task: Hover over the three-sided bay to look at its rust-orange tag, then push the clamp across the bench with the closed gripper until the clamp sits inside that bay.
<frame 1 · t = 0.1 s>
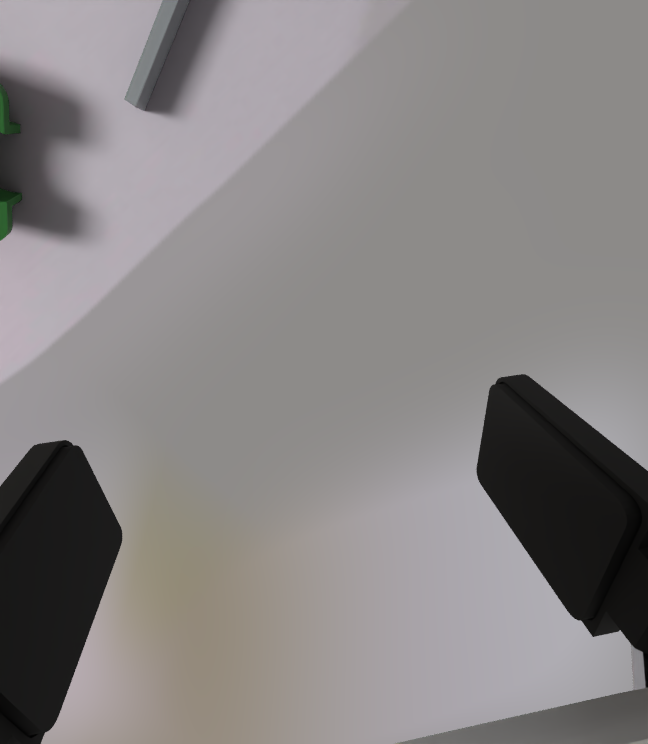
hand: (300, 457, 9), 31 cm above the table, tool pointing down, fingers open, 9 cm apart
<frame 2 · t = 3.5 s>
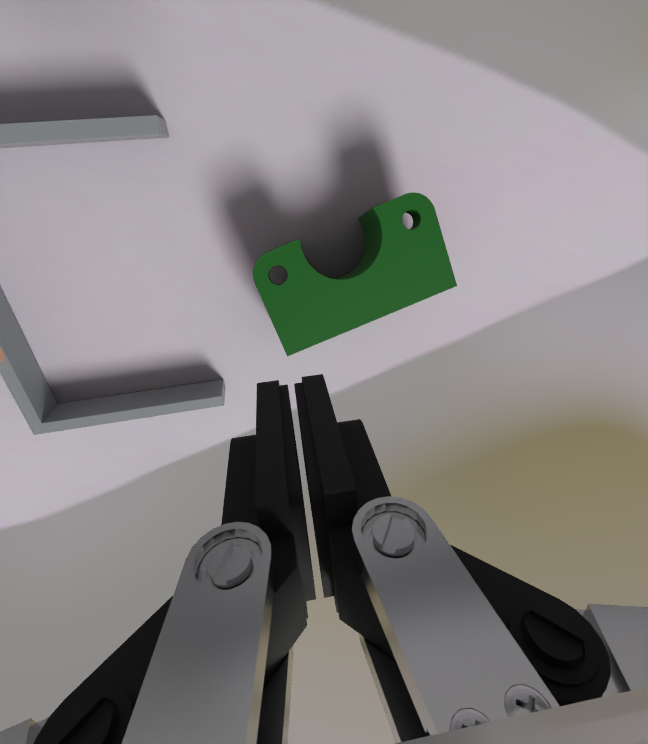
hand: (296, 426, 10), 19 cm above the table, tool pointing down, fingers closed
bay: (122, 285, 25), on the table
clamp: (338, 264, 27), on the table
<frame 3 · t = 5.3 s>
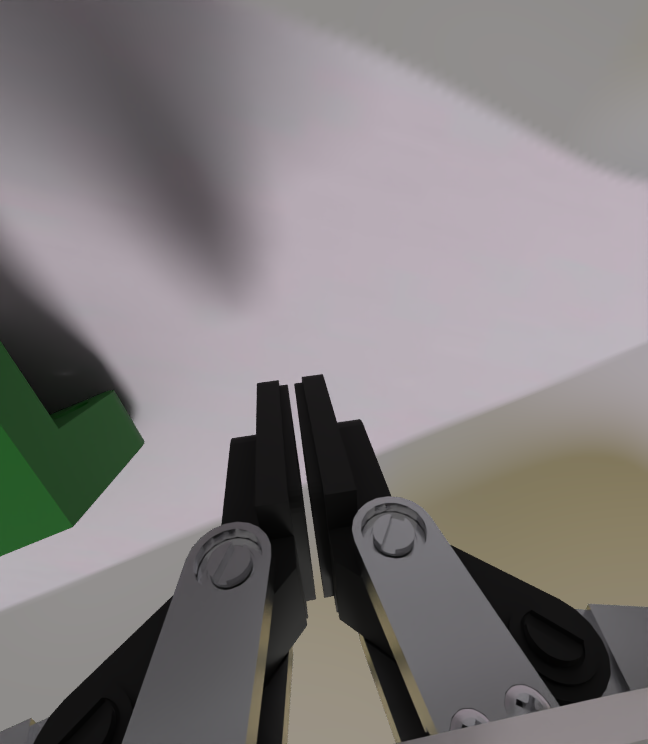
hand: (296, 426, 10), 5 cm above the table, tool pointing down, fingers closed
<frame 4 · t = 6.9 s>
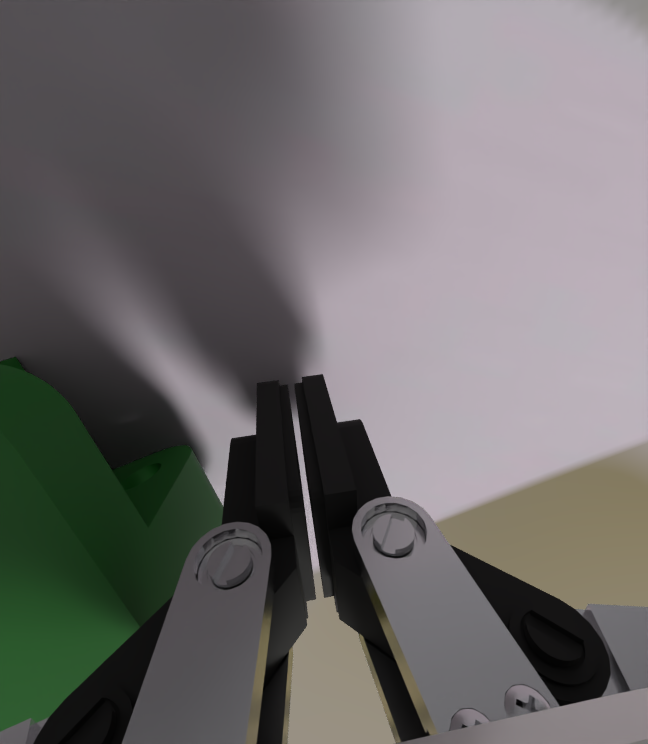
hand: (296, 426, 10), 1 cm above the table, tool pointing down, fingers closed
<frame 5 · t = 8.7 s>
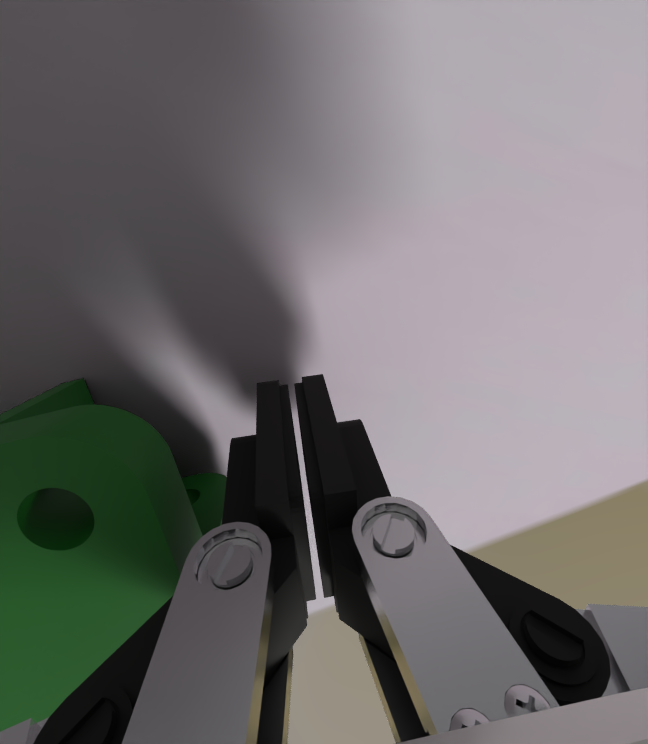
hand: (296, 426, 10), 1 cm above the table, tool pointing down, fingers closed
clamp: (33, 468, 11), on the table
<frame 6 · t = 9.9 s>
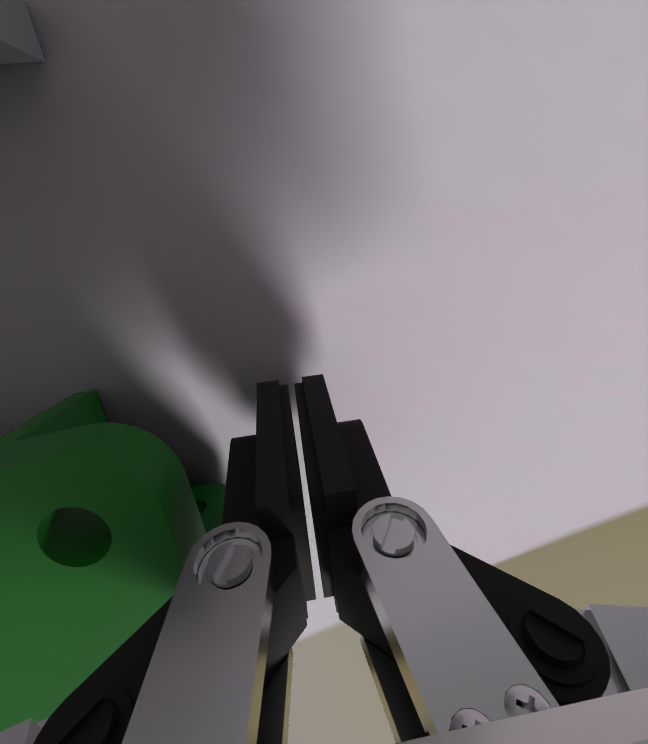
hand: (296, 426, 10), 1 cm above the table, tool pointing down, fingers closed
clamp: (41, 475, 11), on the table, touching gripper
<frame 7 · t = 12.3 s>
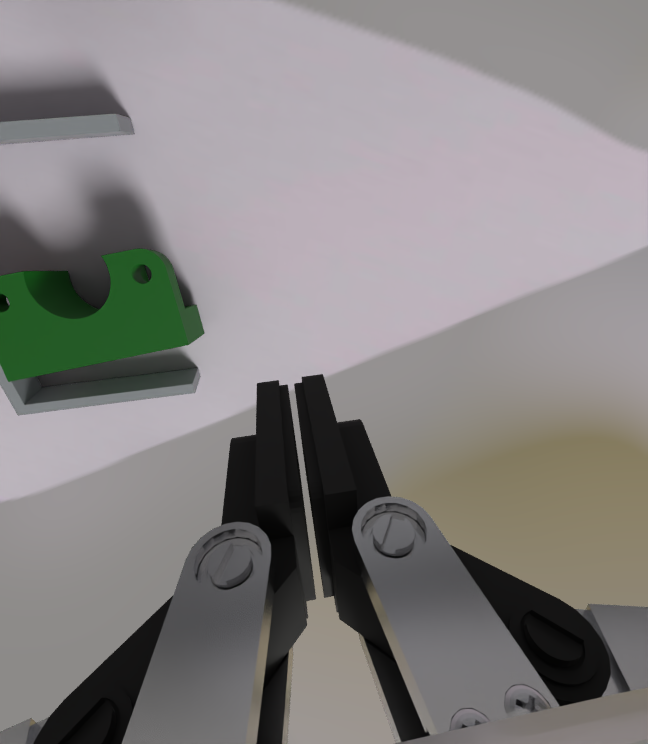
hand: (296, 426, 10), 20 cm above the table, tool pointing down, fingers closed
bay: (97, 275, 26), on the table
clamp: (117, 297, 28), on the table
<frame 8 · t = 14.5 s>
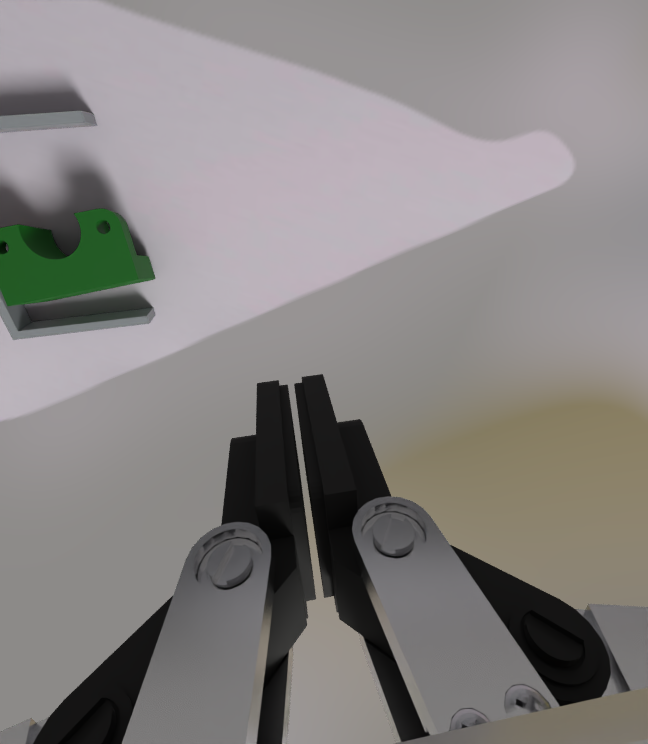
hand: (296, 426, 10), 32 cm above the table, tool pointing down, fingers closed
bay: (72, 231, 35), on the table
clamp: (89, 252, 37), on the table
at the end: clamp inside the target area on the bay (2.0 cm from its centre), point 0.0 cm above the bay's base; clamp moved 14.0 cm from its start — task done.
